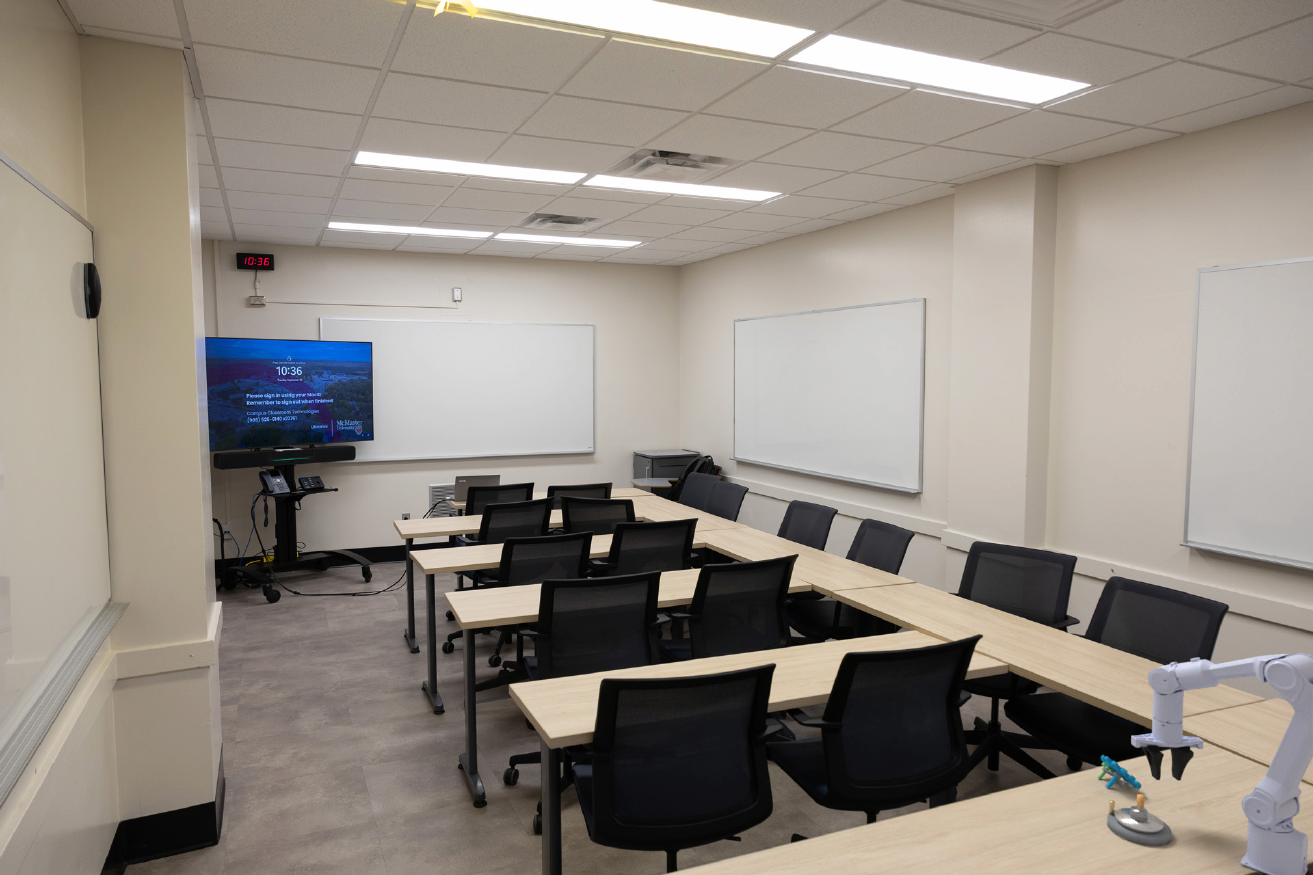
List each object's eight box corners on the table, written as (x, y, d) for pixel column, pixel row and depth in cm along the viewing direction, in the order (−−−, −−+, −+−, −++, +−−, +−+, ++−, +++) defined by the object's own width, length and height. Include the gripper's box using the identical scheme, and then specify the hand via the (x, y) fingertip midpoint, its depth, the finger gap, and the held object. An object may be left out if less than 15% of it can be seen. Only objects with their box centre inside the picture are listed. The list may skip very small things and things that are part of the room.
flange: (1162, 837, 165) (1162, 821, 165) (1113, 824, 170) (1113, 808, 170) (1164, 815, 174) (1164, 799, 174) (1117, 803, 179) (1118, 788, 179)
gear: (1152, 790, 185) (1121, 760, 186) (1136, 809, 185) (1104, 779, 185) (1123, 775, 196) (1093, 746, 197) (1108, 792, 196) (1078, 764, 196)
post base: (1178, 831, 171) (1179, 811, 170) (1160, 852, 163) (1161, 831, 163) (1118, 810, 180) (1118, 791, 180) (1098, 829, 172) (1099, 809, 172)
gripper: (1190, 712, 178) (1188, 770, 179) (1124, 711, 179) (1123, 768, 180) (1209, 725, 171) (1208, 785, 172) (1141, 723, 172) (1140, 783, 173)
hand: (1166, 778), depth 176 cm, fingers open, 4 cm apart
